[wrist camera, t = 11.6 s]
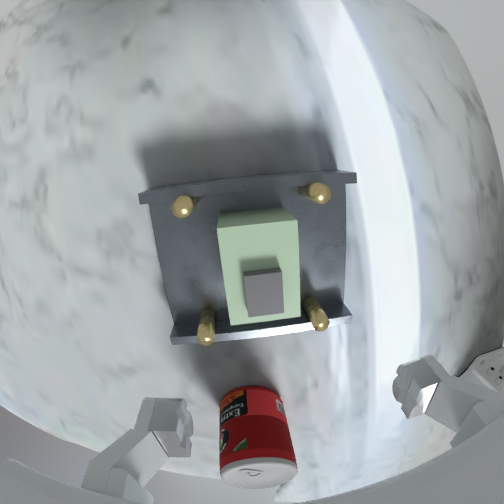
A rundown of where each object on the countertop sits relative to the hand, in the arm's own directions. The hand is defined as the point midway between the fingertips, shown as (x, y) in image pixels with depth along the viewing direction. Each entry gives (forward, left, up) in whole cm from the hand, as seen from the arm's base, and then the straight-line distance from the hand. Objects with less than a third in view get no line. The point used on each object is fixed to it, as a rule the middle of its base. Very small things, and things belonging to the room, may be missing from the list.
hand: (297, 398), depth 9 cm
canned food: (+2, +20, -17) cm, 26 cm away
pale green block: (0, -1, -15) cm, 15 cm away
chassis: (0, 0, -16) cm, 16 cm away
